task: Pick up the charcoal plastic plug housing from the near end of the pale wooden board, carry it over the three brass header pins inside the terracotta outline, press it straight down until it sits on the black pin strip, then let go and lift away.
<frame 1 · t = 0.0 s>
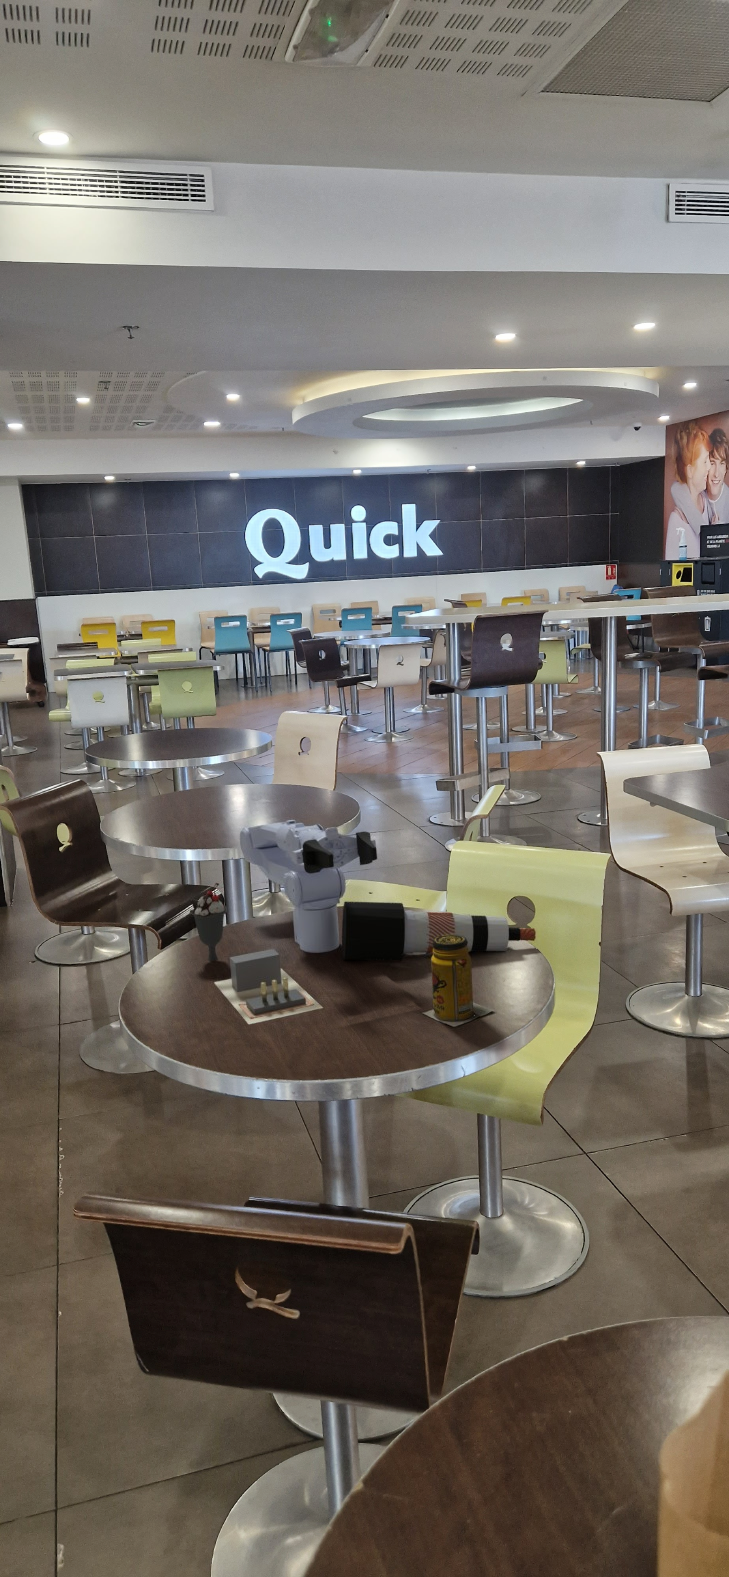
hand: (353, 857, 164), 22 cm above the table, tool horizontal, fingers open, 7 cm apart
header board: (266, 1000, 163), on the table
plug housing: (256, 984, 168), point 1 cm above the table, touching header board
condiment: (458, 1014, 154), on the table
sundae: (213, 965, 182), on the table
striped banded cylinder: (439, 956, 180), on the table
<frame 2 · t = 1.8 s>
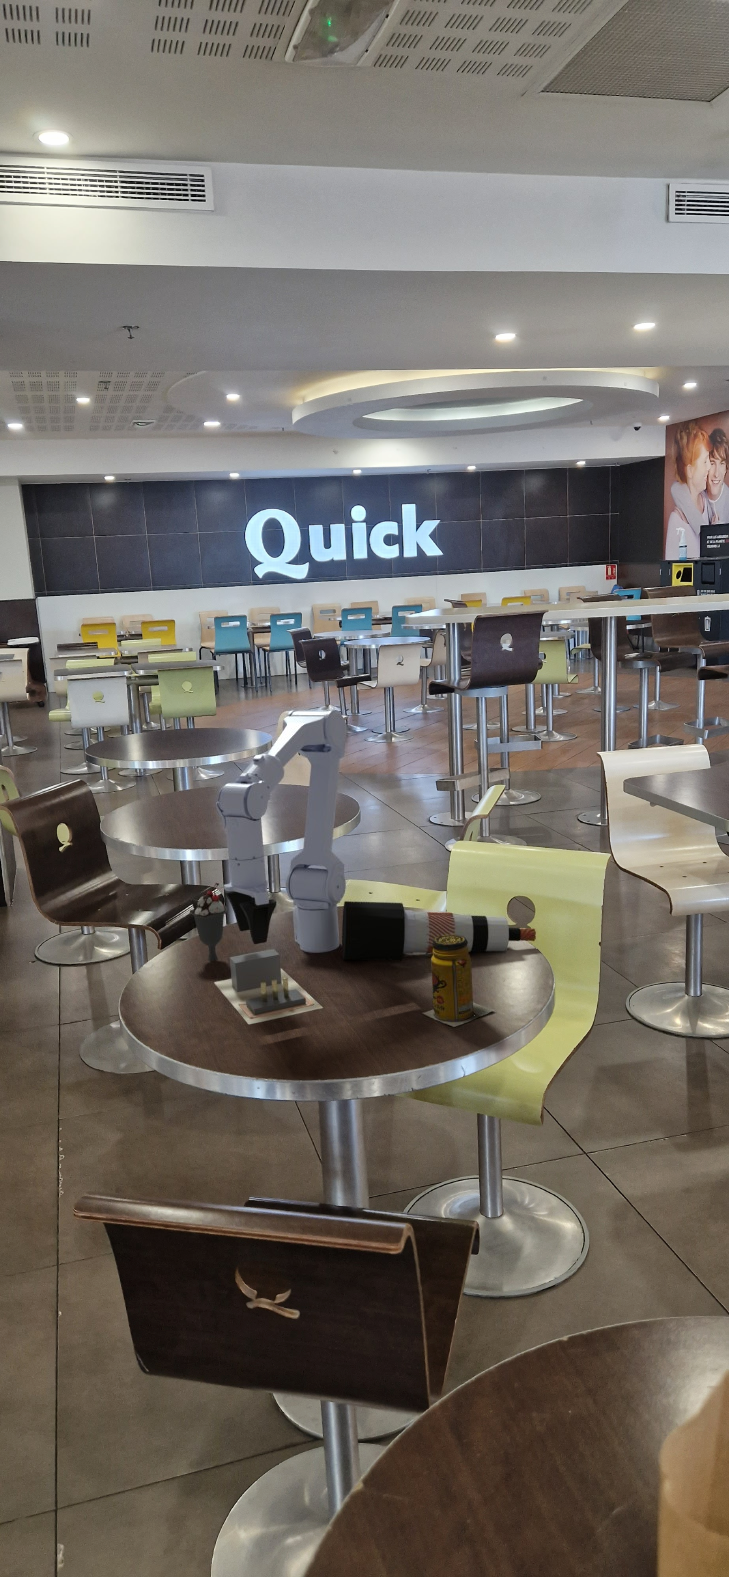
hand: (252, 936, 166), 9 cm above the table, tool pointing down, fingers open, 7 cm apart
nothing on the table moved.
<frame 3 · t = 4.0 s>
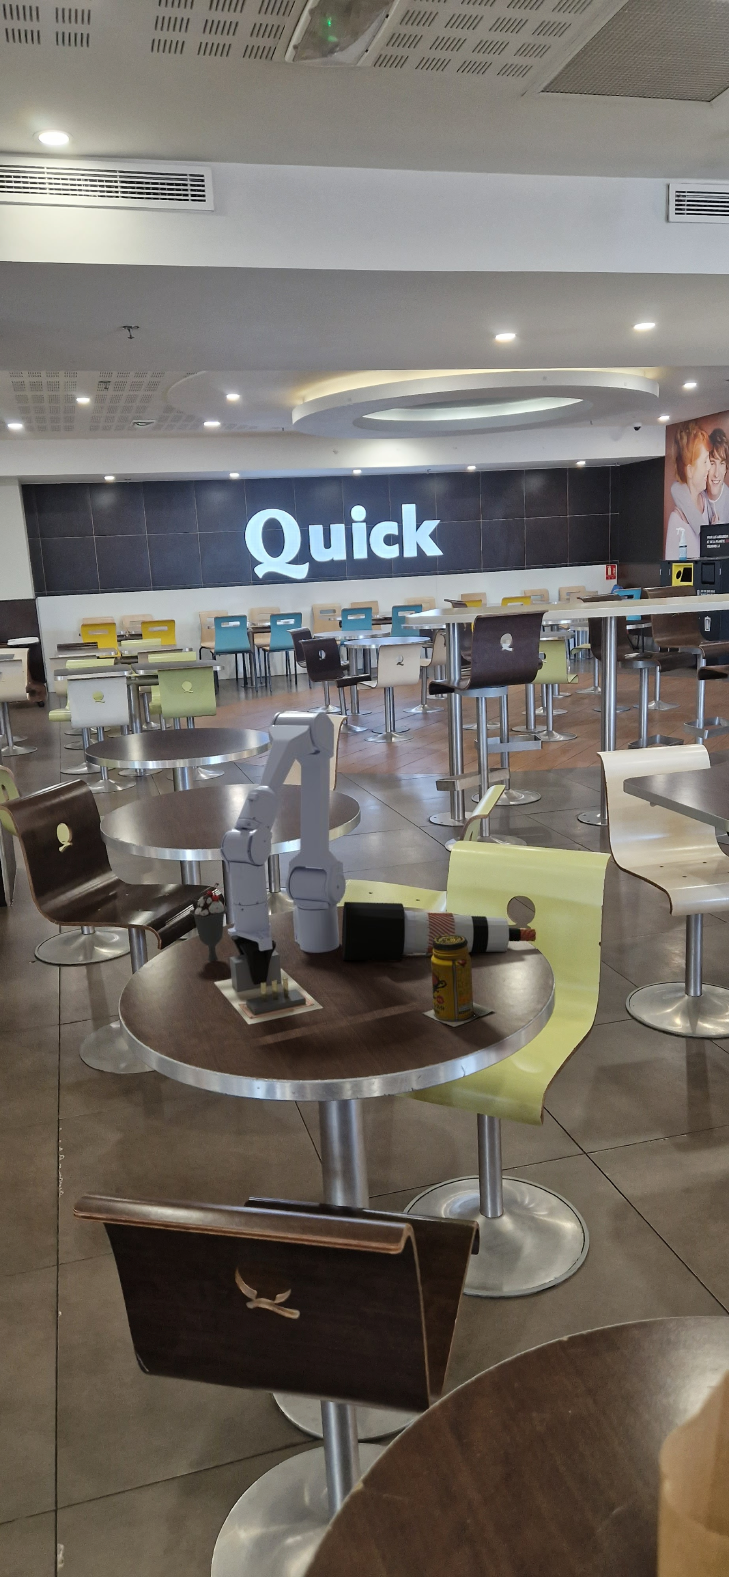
hand: (256, 979, 167), 2 cm above the table, tool pointing down, fingers closed on plug housing, 3 cm apart
plug housing: (256, 984, 168), point 1 cm above the table, touching gripper, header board
everything else where it was.
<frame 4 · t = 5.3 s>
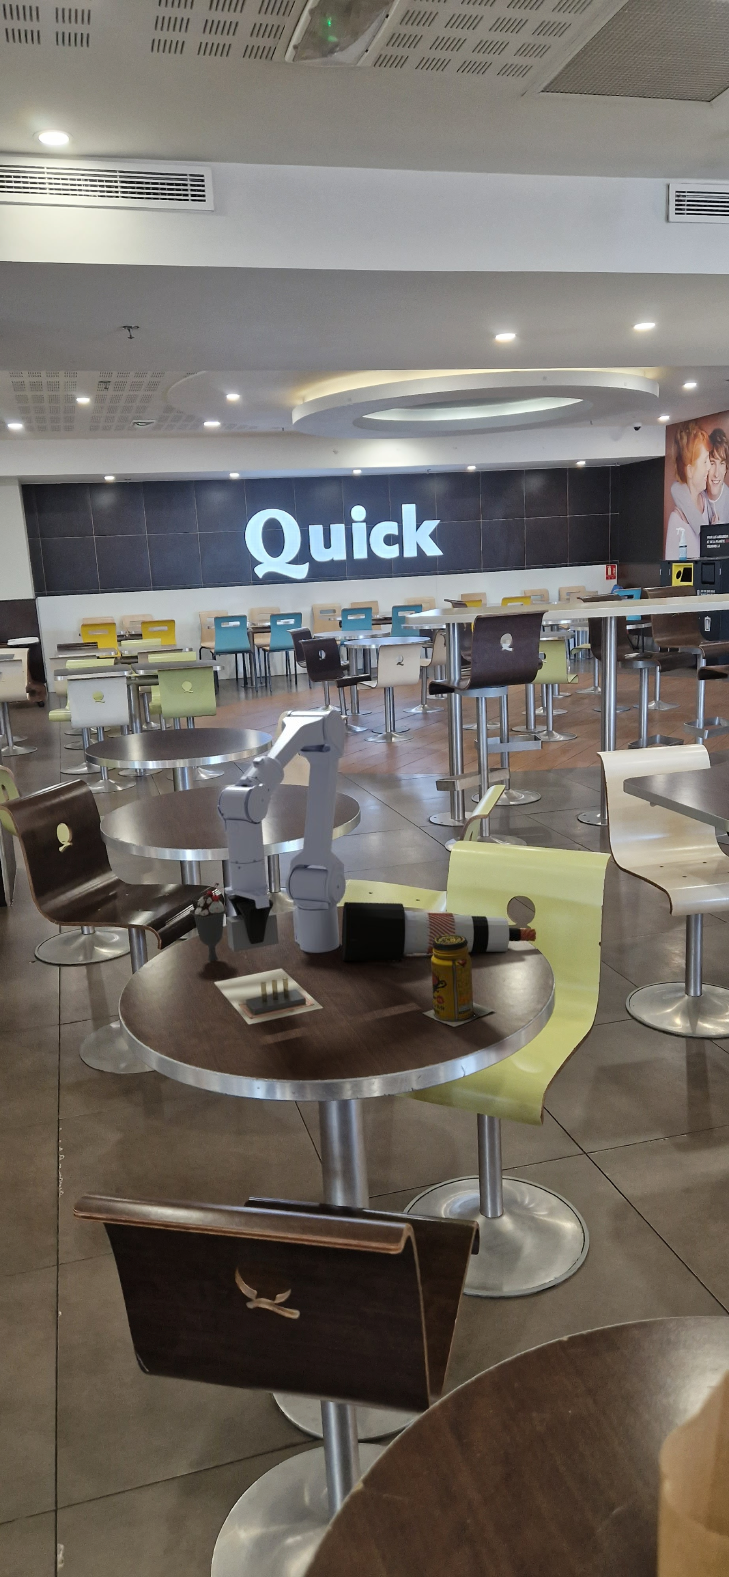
hand: (253, 939, 166), 9 cm above the table, tool pointing down, fingers closed on plug housing, 3 cm apart
plug housing: (253, 945, 166), point 8 cm above the table, touching gripper
everything else where it was.
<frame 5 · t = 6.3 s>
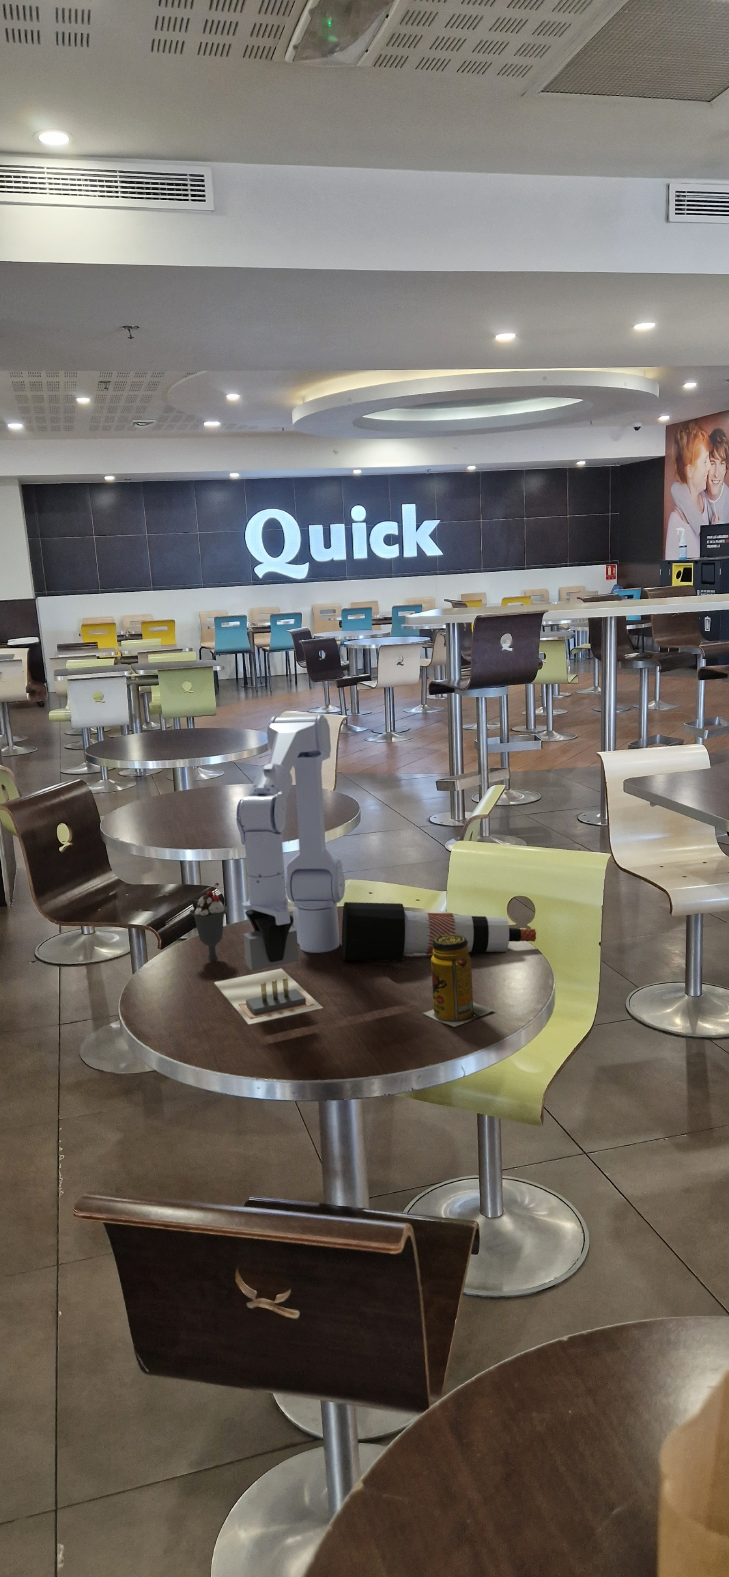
hand: (272, 956, 157), 9 cm above the table, tool pointing down, fingers closed on plug housing, 3 cm apart
plug housing: (272, 962, 157), point 8 cm above the table, touching gripper
everything else where it was.
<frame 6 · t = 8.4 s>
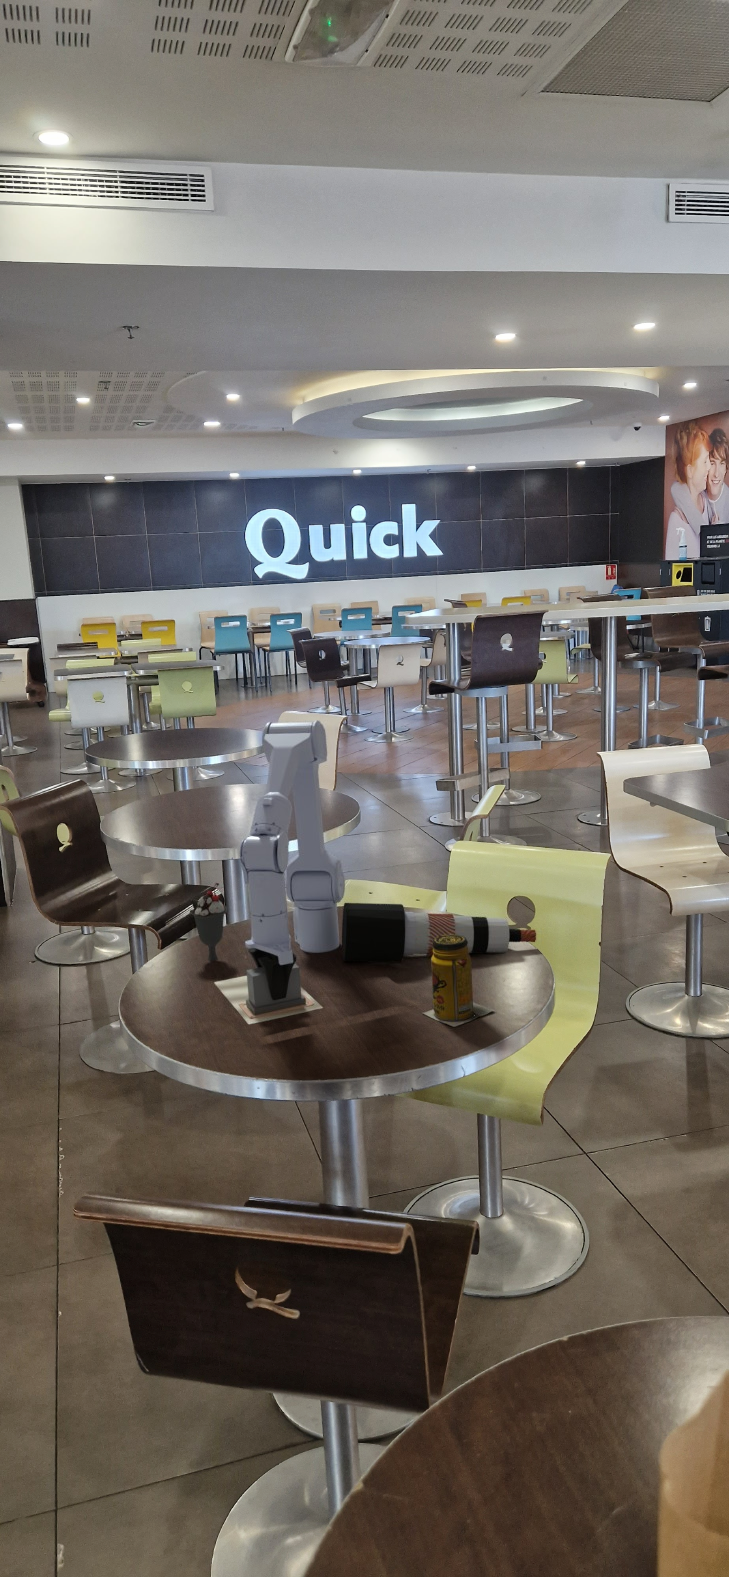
hand: (275, 994, 158), 3 cm above the table, tool pointing down, fingers closed on plug housing, 3 cm apart
plug housing: (275, 998, 158), point 2 cm above the table, touching gripper, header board
everything else where it was.
when the fingers open (3 cm above the table, at t = 8.9 s): plug housing stays where it is, resting on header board.
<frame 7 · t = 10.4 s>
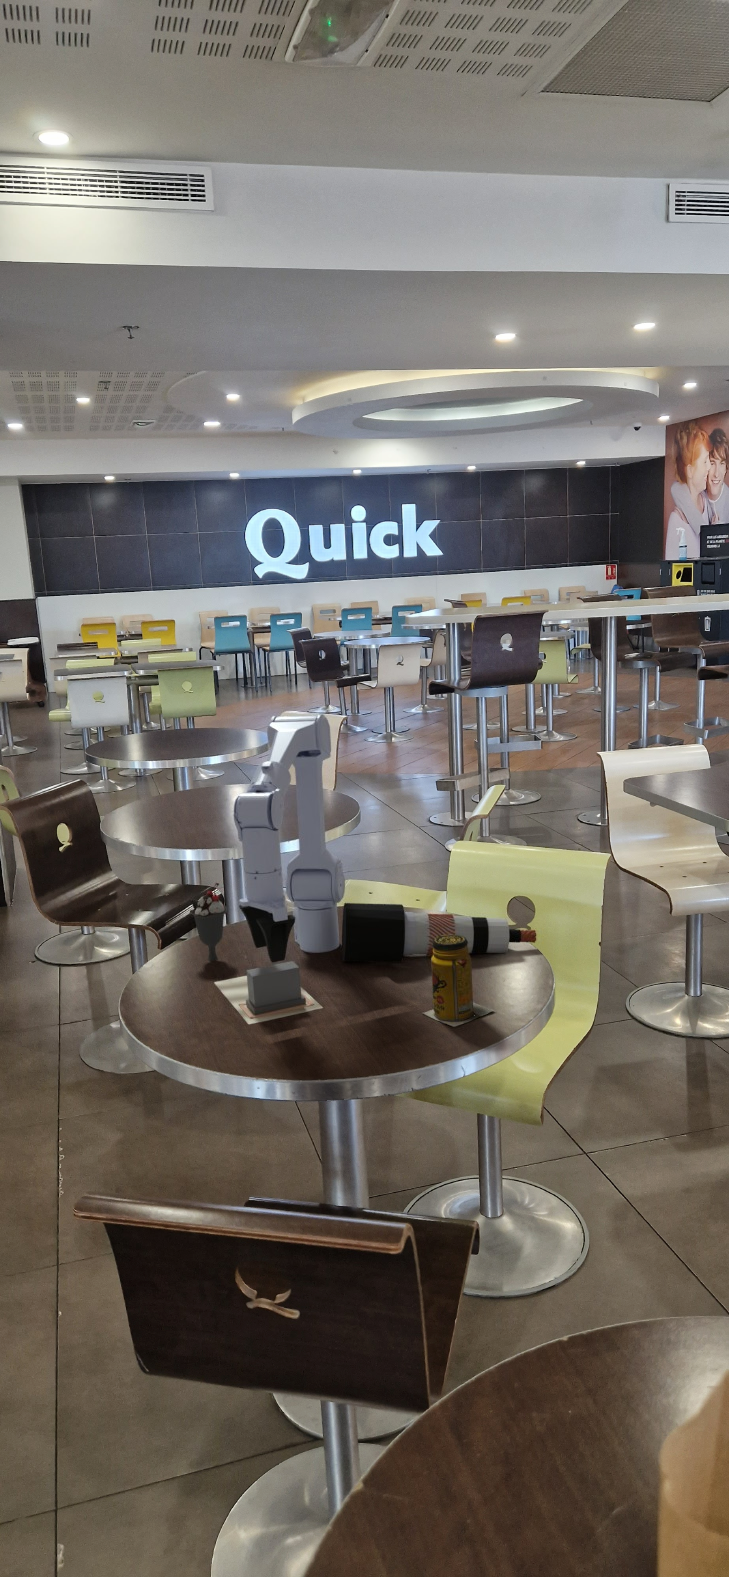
hand: (269, 953, 157), 9 cm above the table, tool pointing down, fingers open, 7 cm apart
plug housing: (275, 998, 158), point 2 cm above the table, touching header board
everything else where it was.
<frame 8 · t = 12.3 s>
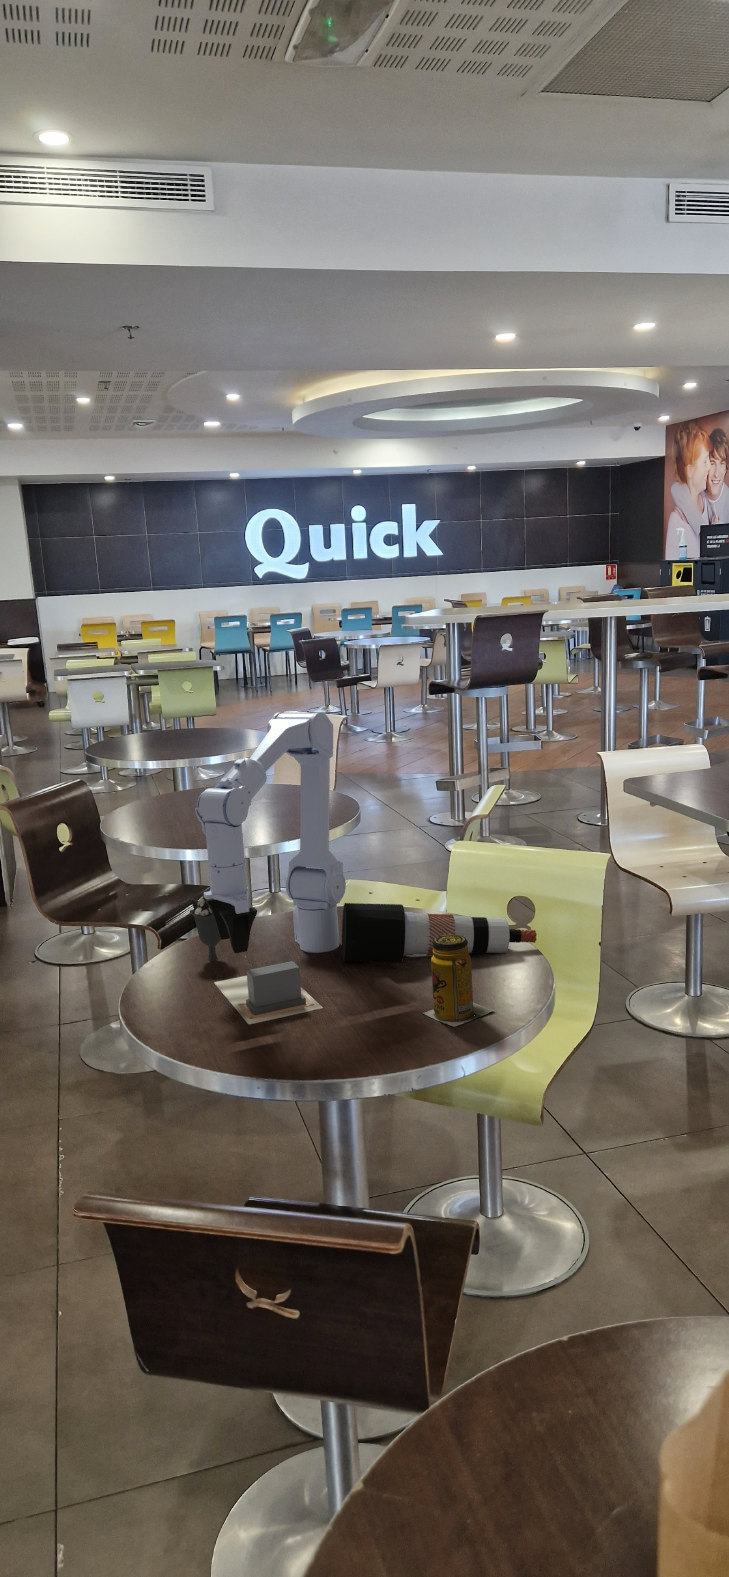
hand: (233, 944, 162), 9 cm above the table, tool pointing down, fingers open, 7 cm apart
nothing on the table moved.
at the end: plug housing 0.1 cm from the target spot on the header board, point 2.0 cm above the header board's base; plug housing tilted 0°; the gripper is holding nothing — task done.
